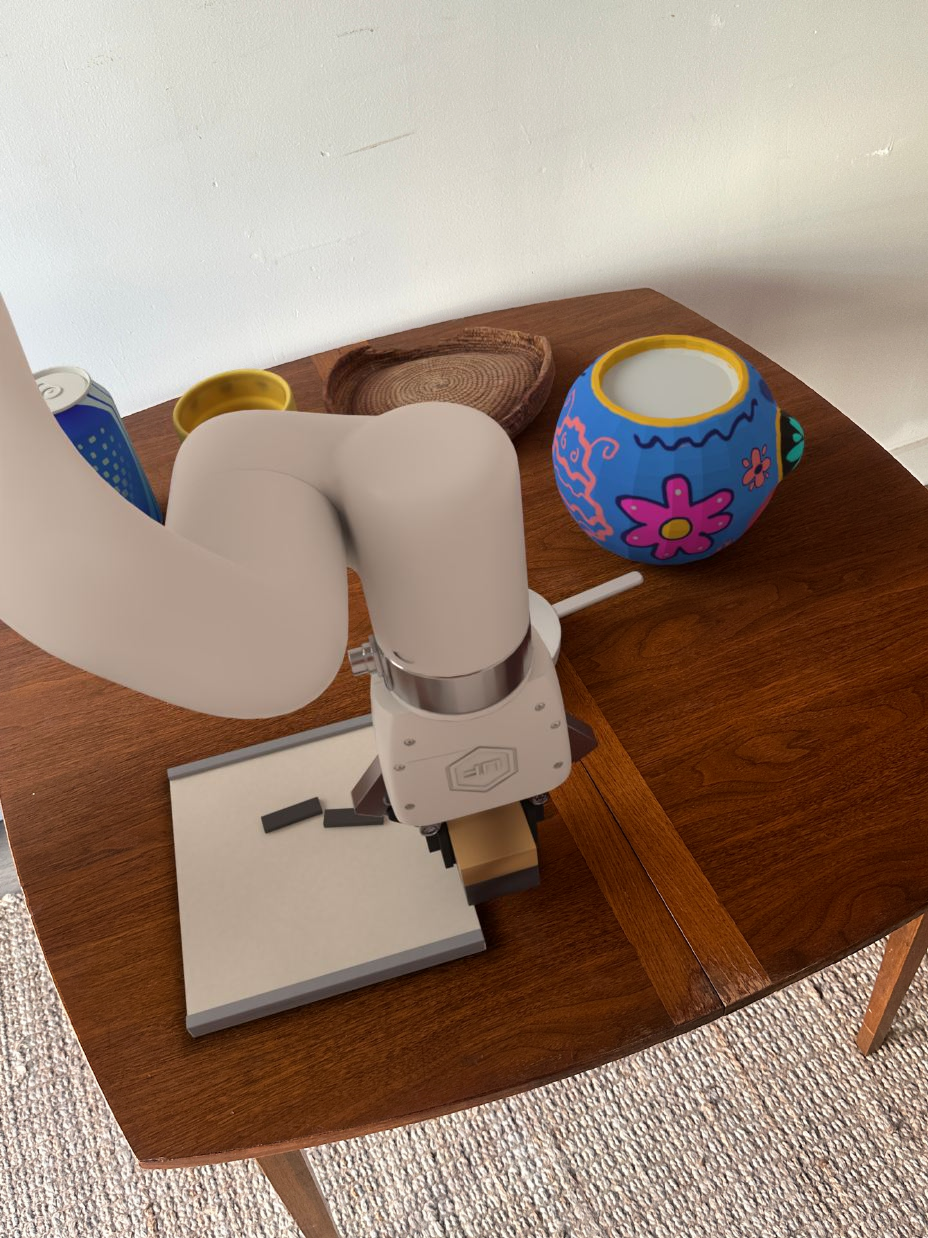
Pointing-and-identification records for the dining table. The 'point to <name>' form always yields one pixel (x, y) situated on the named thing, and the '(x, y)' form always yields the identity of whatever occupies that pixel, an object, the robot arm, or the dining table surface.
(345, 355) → the basket
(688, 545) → the ceramic pot
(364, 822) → the marker stroke
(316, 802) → the bar
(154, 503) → the beer can
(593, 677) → the dining table surface
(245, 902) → the whiteboard
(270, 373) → the flower pot
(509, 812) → the eraser
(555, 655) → the saucepan
